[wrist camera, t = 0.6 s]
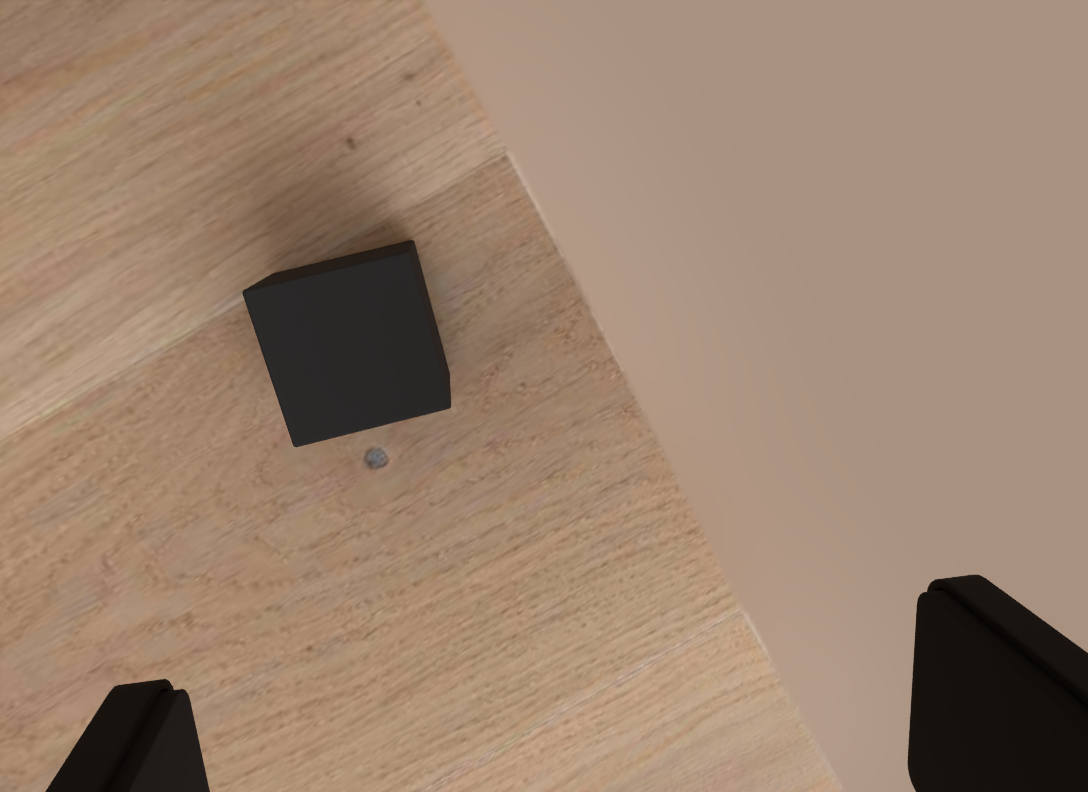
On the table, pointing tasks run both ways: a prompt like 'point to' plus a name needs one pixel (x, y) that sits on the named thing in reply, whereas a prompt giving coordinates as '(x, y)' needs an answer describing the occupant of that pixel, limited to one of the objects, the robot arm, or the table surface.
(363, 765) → the table surface
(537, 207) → the table surface
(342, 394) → the pad block
